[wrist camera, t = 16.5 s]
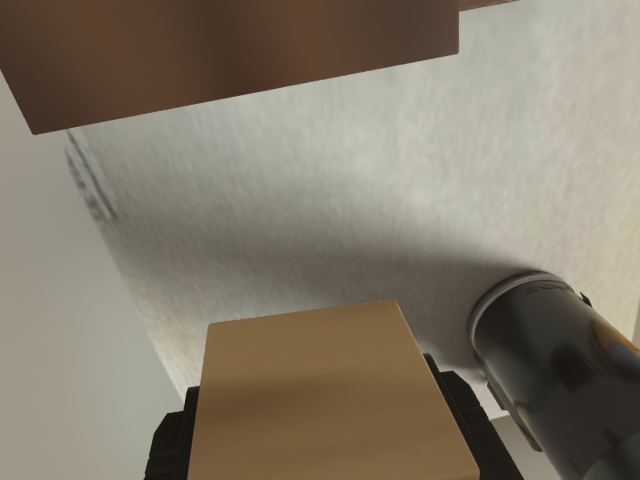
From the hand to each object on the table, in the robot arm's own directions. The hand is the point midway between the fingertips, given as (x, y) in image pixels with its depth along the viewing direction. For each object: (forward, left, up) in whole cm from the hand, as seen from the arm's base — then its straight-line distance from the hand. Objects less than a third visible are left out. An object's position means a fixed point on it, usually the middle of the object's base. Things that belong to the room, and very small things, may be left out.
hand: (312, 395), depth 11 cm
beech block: (0, 0, -1) cm, 1 cm away
